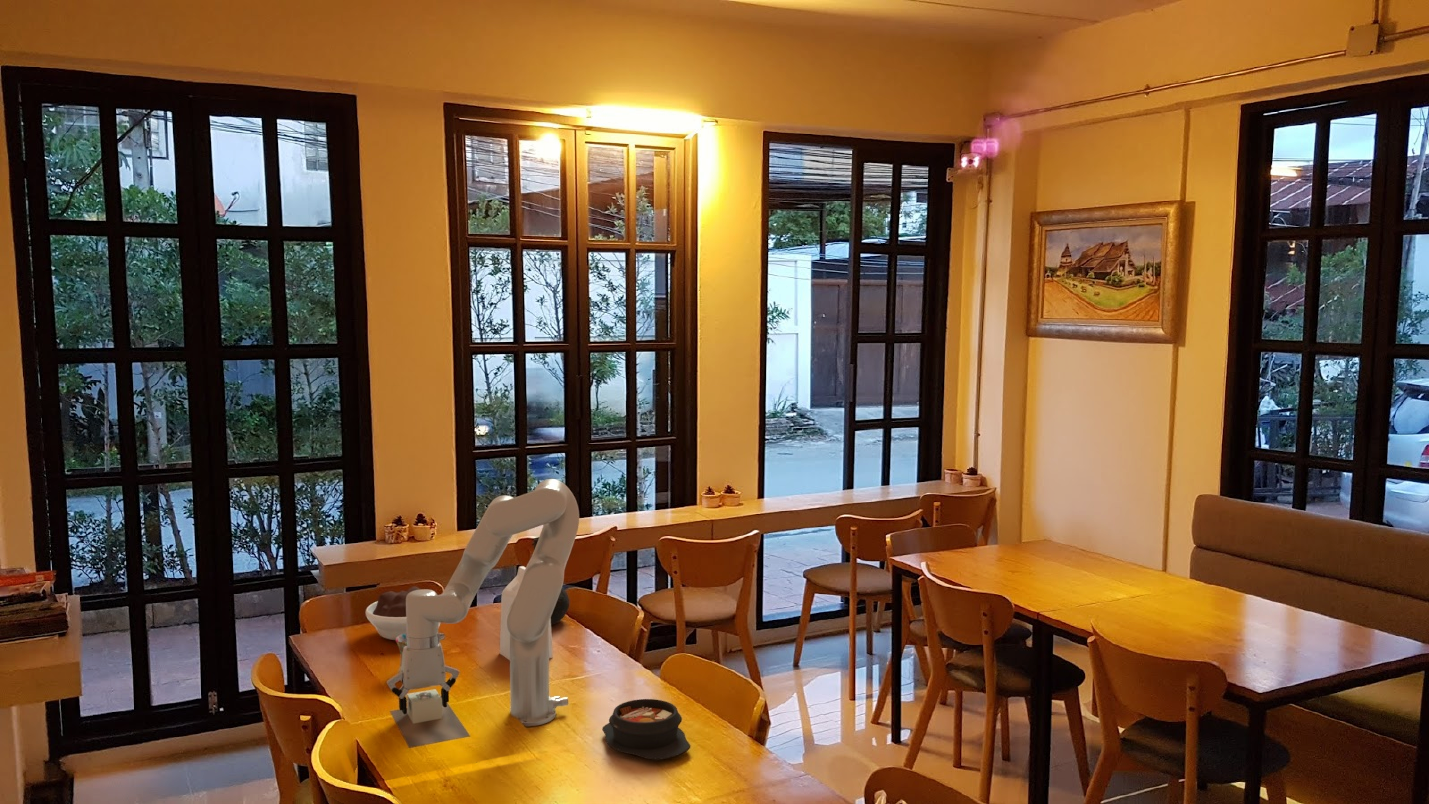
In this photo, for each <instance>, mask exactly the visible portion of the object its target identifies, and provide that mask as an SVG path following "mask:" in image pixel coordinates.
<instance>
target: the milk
mask: <svg viewBox="0 0 1429 804" xmlns="http://www.w3.org/2000/svg"><path fill="white" fill-rule="evenodd" d="M525 569H526V567H525V566H523V565H521V566H518V569H517V574H516V576H515V577H514V578H513V579H512V580H511V581H510V582H509V583H508V584H507V585H506V587H504V588H503V590H502V592H501V601H500V603H501V606H500V629H499V631H500V634H499V635H500V638H499V654H500V655H501V656H503V657H505V659H506V660H508V661H510V633H509V631H508V628H507V617H508V612H509V608H510V605H511V603H512V601H513V599H514V598H515V597H516V595H517V592H518V590H519V587H520V585H521V582H522V579H523V576H524V573H525ZM552 658H554V651H553V639H552V625H551V618H550V620H549V659H552Z"/></svg>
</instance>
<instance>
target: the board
mask: <svg viewBox="0 0 1429 804" xmlns="http://www.w3.org/2000/svg"><path fill="white" fill-rule="evenodd" d="M389 712H390V714H391V716H392V718H393V720H394V722H395V724H396V725H397V728H398V730H399V731H400V733H401V735H402V737H403V739H404V740H405V743H406V745H407V746H408V748H409V749H410V748H415V747H421V746H426V745H431V744H437V743H440V742H441V743H442V742H448V741H452V740H459V739H462V738H464V739H465V738H468V737H471V735H470V734H469V732H468V730H467V729H466V728H465V726H464V725H463V723H462V722H461V720H460V719H459V717H458V715H457V714H456V713H455V711H454V710H453V709H452V707H451V706H450V704H449V702H447V707H443V705H442V718H441V719H436V720H430V721H425V722H419V723H414V724H413V722H412V721H411V719H410V717H409V715H408V714H407V713H406V714H403V712H402V710H400V709H399V708H398V709H394V710H390V711H389Z"/></svg>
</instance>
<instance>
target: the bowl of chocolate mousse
mask: <svg viewBox="0 0 1429 804" xmlns="http://www.w3.org/2000/svg"><path fill="white" fill-rule="evenodd" d="M415 590H421V588H419V587H418V586H416V585H415V586H412V587H410V588H408V589H407V590H406V591H405V590H403V589H402V590H401V591H398V592H395V591H392V590H389V591H386V592H383V593H381V594H379V596H378V600H377V601H375V602H373V603H371V604H370V605H368V606H367V607H366V609H365V617H366V618H367V620H368V621H369V622H370V624H371V625H372V626H374V628H375V630H376V631H377V633H378V634H379V636H380V637H382V638H384V639H386V640H391V641H396V637H398V636H400V635H402V634H406V633H407V626H406V597H407V595H408V594H409V593H410V592H412V591H415ZM440 625H441V623H440V622H438V629H439V628H440Z"/></svg>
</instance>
